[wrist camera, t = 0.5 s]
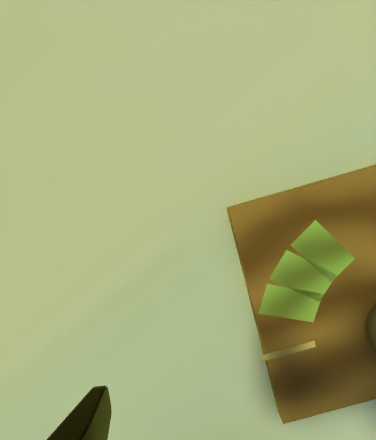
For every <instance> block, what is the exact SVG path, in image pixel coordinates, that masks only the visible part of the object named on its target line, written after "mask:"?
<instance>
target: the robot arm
mask: <svg viewBox="0 0 376 440" xmlns="http://www.w3.org/2000/svg"><path fill="white" fill-rule="evenodd" d="M110 419H111V403H110V397H109V392H108V388H107V386H97V387H94V388H92V389H91V390H90V391H89V392H88V394H87V395H86V396H85V397H84V398H83V399H82V400H81V402H80V403H79V404H78V405H77V406H76V407H75V408H74V409H73V411H72V412H71V413H70V414H69V415H68V416H67V417H66V418H65V420H64V421H63V422H62V423H61V424H60V425H59V426H58V427H57V429H56V430H55V431H54V432H53V433H52V434H51V435H50V437H49V438H48V439H47V440H107V438H108V432H109V426H110Z"/></svg>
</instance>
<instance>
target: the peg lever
mask: <svg viewBox="0 0 376 440" xmlns="http://www.w3.org/2000/svg"><path fill="white" fill-rule="evenodd" d="M365 330H366V336H367V338H368V340H369V342H370V343H371V344H372V345H373V346H374V347H375V348H376V305H375V306H374V307H373V309H372V310H371V312H370V313H369V315H368V318H367V320H366V326H365Z"/></svg>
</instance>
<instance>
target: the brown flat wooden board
mask: <svg viewBox="0 0 376 440" xmlns="http://www.w3.org/2000/svg"><path fill="white" fill-rule="evenodd" d="M227 211H228V215H229V219H230V223H231V227H232V231H233V235H234V239H235V243H236V247H237V251H238V255H239V259H240V263H241V266H242V270H243V274H244V278H245V282H246V286H247V290H248V294H249V298H250V302H251V306H252V310H253V314H254V318H255V322H256V326H257V329H258V333H259V337H260V341H261V345H262V349H263V353H264V355H260V356H261V360H262V362H263V361H266V365H267V369H268V373H269V377H270V381H271V385H272V388H273V392H274V396H275V400H276V404H277V408H278V412H279V415H280V417H281V419H282V422H283V424H285V423H289V422H292V421H296V420H300V419H303V418H307V417H311V416H314V415H318V414H322V413H325V412H329V411H333V410H336V409H340V408H344V407H347V406H351V405H355V404H358V403H362V402H366V401H369V400H373V399H376V348H375V347H374V346H373V345H372V344H371V343H370V342H369V340H368V338H367V336H366V330H365V326H366V320H367V318H368V315H369V313H370V312H371V310H372V309H373V307H374V306H375V305H376V165H373V166H370V167H366V168H363V169H359V170H356V171H352V172H349V173H345V174H342V175H338V176H335V177H331V178H328V179H325V180H321V181H318V182H314V183H311V184H307V185H304V186H300V187H297V188H293V189H290V190H286V191H283V192H279V193H276V194H273V195H269V196H266V197H262V198H259V199H255V200H252V201H248V202H245V203H241V204H238V205H234V206H231V207H228V208H227Z"/></svg>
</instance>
